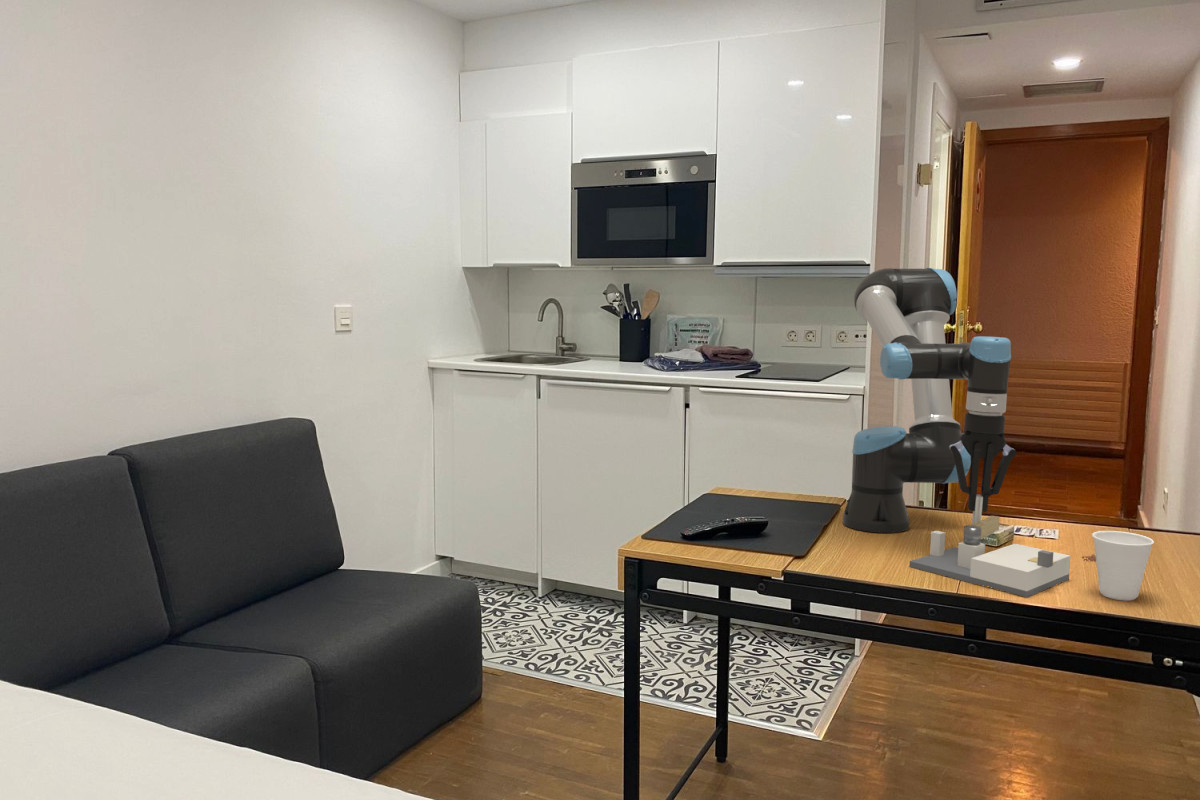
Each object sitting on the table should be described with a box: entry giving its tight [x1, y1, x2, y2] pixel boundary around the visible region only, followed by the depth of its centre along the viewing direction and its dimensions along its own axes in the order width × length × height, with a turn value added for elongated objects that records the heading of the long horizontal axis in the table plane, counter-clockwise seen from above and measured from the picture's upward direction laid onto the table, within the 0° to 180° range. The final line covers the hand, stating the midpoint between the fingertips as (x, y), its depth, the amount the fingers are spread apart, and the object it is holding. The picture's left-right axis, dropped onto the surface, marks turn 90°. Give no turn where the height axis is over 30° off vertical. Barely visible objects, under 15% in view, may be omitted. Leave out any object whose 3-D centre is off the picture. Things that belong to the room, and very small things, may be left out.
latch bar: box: [962, 515, 1000, 544], centre depth 186 cm, size 15×3×3 cm, turn 138°
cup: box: [1091, 530, 1155, 602], centre depth 168 cm, size 10×10×11 cm
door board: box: [908, 530, 1071, 598], centre depth 181 cm, size 25×17×7 cm
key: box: [1081, 554, 1096, 563], centre depth 187 cm, size 6×1×15 cm
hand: (976, 526), depth 189 cm, fingers closed
